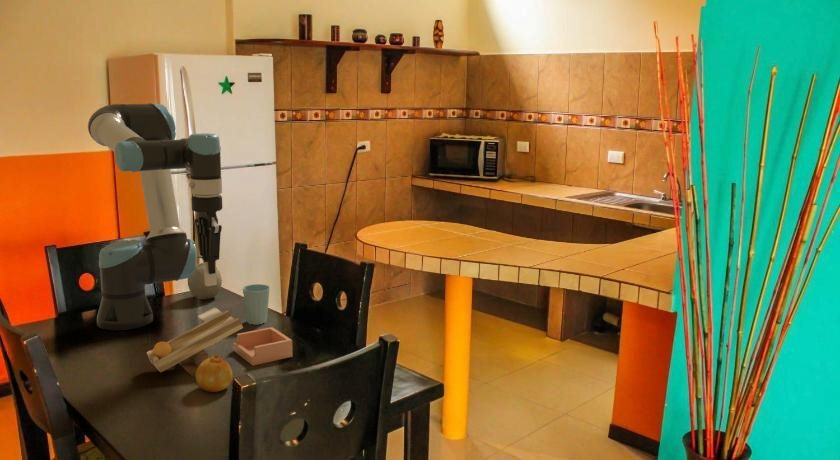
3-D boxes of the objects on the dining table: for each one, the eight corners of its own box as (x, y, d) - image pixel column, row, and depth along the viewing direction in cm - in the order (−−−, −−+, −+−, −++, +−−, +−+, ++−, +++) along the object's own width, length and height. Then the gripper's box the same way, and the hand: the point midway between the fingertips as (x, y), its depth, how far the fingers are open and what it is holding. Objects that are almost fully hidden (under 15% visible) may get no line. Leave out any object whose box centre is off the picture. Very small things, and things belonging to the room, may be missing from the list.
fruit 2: (244, 374, 173) (226, 346, 172) (228, 391, 166) (209, 361, 165) (218, 387, 176) (200, 359, 175) (201, 404, 169) (182, 375, 168)
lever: (139, 350, 188) (135, 340, 187) (217, 310, 199) (213, 299, 198) (160, 372, 175) (155, 361, 174) (243, 327, 185) (238, 317, 184)
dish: (233, 350, 194) (233, 334, 194) (272, 342, 201) (272, 327, 200) (252, 365, 185) (252, 348, 184) (292, 356, 191) (292, 340, 190)
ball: (152, 357, 179) (149, 342, 178) (169, 352, 182) (166, 337, 180) (157, 362, 176) (154, 347, 175) (174, 357, 178) (171, 342, 177)
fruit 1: (228, 294, 244) (227, 249, 241) (213, 304, 233) (211, 258, 230) (199, 291, 246) (197, 247, 243) (182, 301, 235) (180, 256, 232)
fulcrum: (175, 360, 187) (174, 342, 186) (202, 355, 191) (202, 337, 190) (191, 376, 178) (191, 357, 177) (220, 370, 182) (219, 351, 181)
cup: (273, 324, 216) (272, 289, 214) (246, 327, 213) (245, 292, 210) (267, 316, 222) (266, 283, 220) (241, 319, 219) (240, 285, 217)
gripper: (183, 193, 191) (187, 281, 195) (201, 199, 180) (205, 292, 185) (211, 190, 195) (215, 277, 200) (230, 197, 185) (234, 288, 189)
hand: (210, 284), depth 192 cm, fingers closed
